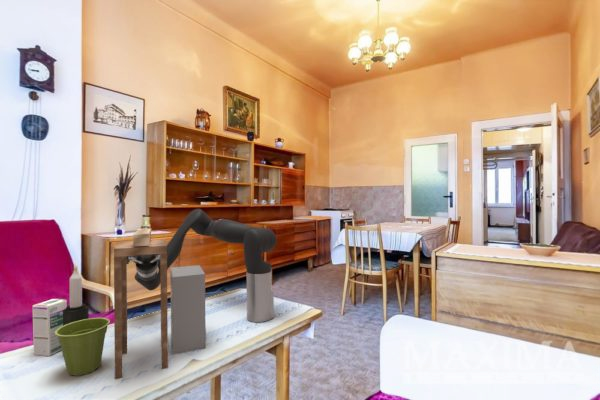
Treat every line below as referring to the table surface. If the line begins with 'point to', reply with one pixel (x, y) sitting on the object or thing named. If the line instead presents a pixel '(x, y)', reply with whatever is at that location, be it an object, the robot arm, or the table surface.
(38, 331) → the syrup box
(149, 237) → the birch bar
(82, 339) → the plant pot
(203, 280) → the grey rectangular block
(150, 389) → the table surface
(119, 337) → the walnut stool
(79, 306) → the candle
